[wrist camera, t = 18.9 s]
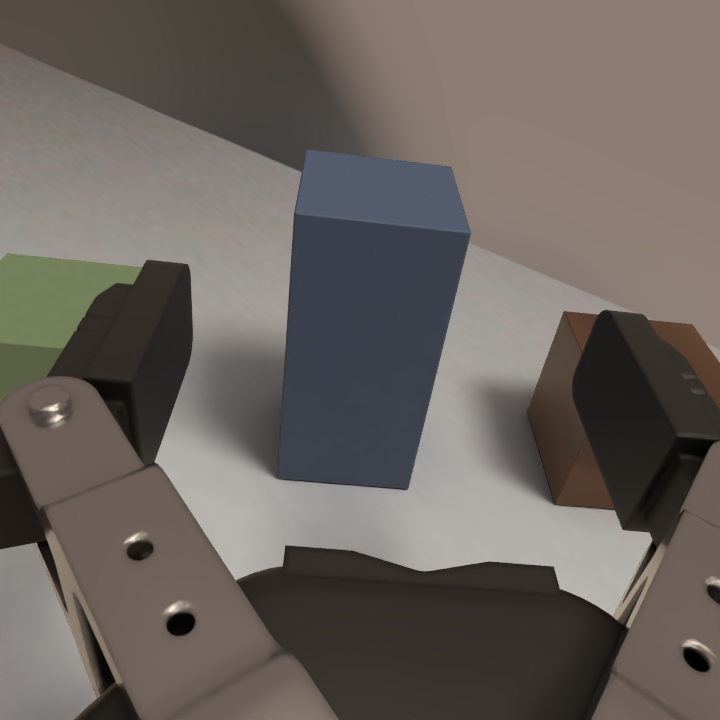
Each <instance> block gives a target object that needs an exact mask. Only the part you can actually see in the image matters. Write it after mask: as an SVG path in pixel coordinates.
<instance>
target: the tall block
mask: <svg viewBox="0 0 720 720" xmlns="http://www.w3.org/2000/svg"><path fill="white" fill-rule="evenodd" d="M470 235H471V232H470V229H469V225H468V222H467V218H466V215H465V212H464V209H463V205H462V201H461V198H460V195H459V191H458V188H457V184H456V181H455V178H454V174H453V170H452V167H448V166H440V165H432V164H423V163H416V162H407V161H399V160H390V159H382V158H374V157H365V156H357V155H348V154H340V153H331V152H323V151H315V150H307V151H306V153H305V159H304V164H303V170H302V175H301V180H300V185H299V191H298V196H297V201H296V207H295V212H294V224H293V240H292V255H291V271H290V287H289V303H288V319H287V334H286V350H285V366H284V382H283V398H282V414H281V429H280V445H279V461H278V478H279V479H291V480H303V481H315V482H327V483H340V484H352V485H364V486H376V487H388V488H400V489H408V487H409V483H410V479H411V475H412V471H413V467H414V463H415V459H416V455H417V451H418V447H419V443H420V438H421V434H422V430H423V426H424V422H425V418H426V414H427V410H428V406H429V402H430V398H431V394H432V390H433V386H434V381H435V377H436V373H437V369H438V365H439V361H440V357H441V353H442V349H443V345H444V341H445V337H446V333H447V328H448V324H449V320H450V316H451V312H452V308H453V304H454V300H455V296H456V292H457V288H458V284H459V280H460V275H461V271H462V267H463V263H464V259H465V255H466V251H467V247H468V243H469V238H470Z"/></svg>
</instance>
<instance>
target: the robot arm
mask: <svg viewBox="0 0 720 720" xmlns="http://www.w3.org/2000/svg"><path fill="white" fill-rule="evenodd" d="M192 341H193V324H192V300H191V277H190V269H189V266H188V264H182V263H173V262H163V261H154V260H147V261H146V262H145V264H144V266H143V267H142V269H141V271H140V273H139V275H138V277H137V278H136V280H135V282H134V284H123V283H115V284H114V285H112V286H111V287H109V288H108V289H106V290H105V291H103V292H102V293H100V294H99V295H97V296H96V297H95V299H94V300H93V302H92V304H91V305H90V307H89V309H88V310H87V312H86V316H85V317H83V318H82V320H81V321H80V323H79V325H78V326H77V331H74V333H73V334H72V336H71V338H70V339H69V341H68V343H67V344H66V346H65V347H64V349H63V351H62V352H61V354H60V356H59V357H58V359H57V360H56V362H55V364H54V365H53V367H52V368H51V370H50V372H49V373H48V375H47V377H45V378H41V379H36V380H33V381H30V382H27V383H25V384H23V385H21V386H19V387H18V388H16V389H14V390H13V391H12V392H10V393H9V394H8V395H7V396H6V397H5V398H4V399H3V400H2V402H1V404H0V549H4V548H9V547H15V546H20V545H25V544H31V543H34V544H35V546H36V549H37V551H38V553H39V556H40V558H41V560H42V563H43V565H44V568H45V570H46V572H47V575H48V577H49V579H50V582H51V584H52V586H53V589H54V591H55V593H56V596H57V598H58V600H59V603H60V605H61V607H62V610H63V612H64V614H65V617H66V619H67V622H68V624H69V626H70V629H71V631H72V634H73V637H74V639H75V642H76V645H77V648H78V651H79V654H80V657H81V659H82V662H83V665H84V668H85V670H86V673H87V675H88V678H89V680H90V683H91V685H92V688H93V690H94V693H95V695H96V697H97V699H96V700H95V701H94V702H93V703H92V704H90V705H89V706H88V707H87V708H86V709H85V710H84V711H83V712H82V713H81V714H80V715H78V716H77V717H76V718H75V719H74V720H720V409H719V408H718V406H717V405H716V403H715V402H714V400H713V399H712V397H711V396H710V395H707V393H708V391H707V389H706V388H705V386H704V385H703V383H702V382H701V380H698V375H697V374H696V372H695V371H694V369H693V368H692V366H691V365H690V363H689V362H688V360H687V359H686V358H685V357H684V356H683V355H682V354H680V353H679V352H678V351H677V350H676V349H674V348H673V347H672V346H671V345H670V344H668V343H667V342H666V341H661V340H660V339H659V337H658V336H657V334H656V332H655V331H654V329H653V327H652V326H651V324H650V323H649V321H648V319H647V318H646V317H645V316H644V315H643V314H637V313H628V312H619V311H609V310H604V311H602V312H601V313H600V314H599V315H598V317H597V318H596V320H595V323H594V325H593V327H592V330H591V332H590V335H589V337H588V340H587V342H586V345H585V347H584V349H583V352H582V354H581V357H580V359H579V362H578V364H577V367H576V369H575V372H574V375H573V380H572V398H573V402H574V405H575V408H576V410H577V413H578V415H579V418H580V421H581V423H582V426H583V428H584V431H585V434H586V436H587V439H588V441H589V444H590V446H591V449H592V452H593V454H594V457H595V459H596V462H597V465H598V467H599V470H600V472H601V475H602V477H603V480H604V483H605V485H606V488H607V490H608V493H609V496H610V498H611V501H612V503H613V506H614V509H615V511H616V514H617V516H618V519H619V521H620V524H621V527H622V529H623V530H628V531H640V532H650V535H651V537H652V539H653V540H652V542H651V543H650V545H649V546H648V548H647V550H646V551H645V553H644V555H643V557H642V559H641V561H640V563H639V565H638V567H637V569H636V571H635V573H634V575H633V577H632V579H631V581H630V583H629V585H628V587H627V589H626V591H625V593H624V595H623V597H622V599H621V601H620V603H619V605H618V607H617V609H616V611H615V613H614V615H613V617H612V616H611V615H610V614H608V613H607V612H605V611H604V610H602V609H601V608H599V607H598V606H596V605H594V604H592V603H590V602H588V601H586V600H585V599H583V598H581V597H578V596H576V595H574V594H571V593H569V592H566V591H564V590H561V589H559V585H558V581H557V577H556V574H555V570H554V567H551V566H538V565H525V564H513V563H500V562H484V563H478V564H471V565H465V566H459V567H453V568H447V569H440V570H434V571H426V572H425V571H417V570H414V569H410V568H407V567H404V566H401V565H397V564H394V563H391V562H388V561H384V560H381V559H378V558H374V557H371V556H368V555H365V554H361V553H358V552H355V551H348V550H336V549H323V548H310V547H298V546H285V554H284V562H283V566H282V567H276V568H270V569H266V570H262V571H259V572H255V573H252V574H250V575H247V576H245V577H243V578H240V579H238V580H236V581H235V579H234V578H233V576H232V574H231V573H230V571H229V570H228V568H227V567H226V565H225V564H224V562H223V561H222V559H221V558H220V556H219V555H218V553H217V551H216V550H215V548H214V547H213V545H212V544H211V542H210V541H209V539H208V538H207V536H206V535H205V533H204V532H203V530H202V528H201V527H200V525H199V524H198V522H197V521H196V519H195V518H194V516H193V515H192V513H191V512H190V510H189V509H188V507H187V505H186V504H185V502H184V501H183V499H182V498H181V496H180V495H179V493H178V492H177V490H176V489H175V487H174V486H173V484H172V482H171V481H170V479H169V478H168V476H167V475H166V473H165V472H164V471H163V469H162V468H161V467H160V466H159V465H158V464H156V463H154V462H155V459H156V456H157V453H158V450H159V447H160V444H161V442H162V439H163V436H164V433H165V430H166V427H167V424H168V422H169V419H170V416H171V413H172V410H173V407H174V404H175V402H176V399H177V396H178V393H179V390H180V387H181V384H182V382H183V379H184V376H185V373H186V370H187V367H188V364H189V361H190V356H191V351H192Z"/></svg>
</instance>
